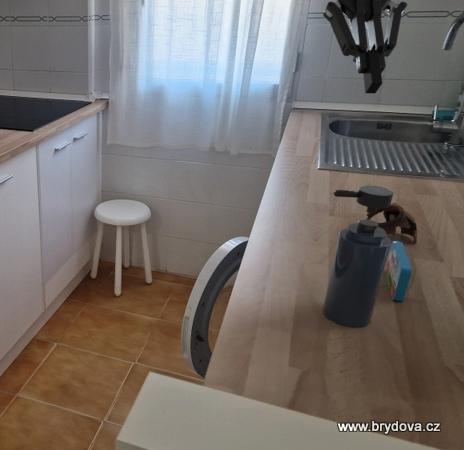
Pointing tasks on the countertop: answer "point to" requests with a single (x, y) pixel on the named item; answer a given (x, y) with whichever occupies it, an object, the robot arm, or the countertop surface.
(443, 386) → the countertop surface
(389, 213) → the brown arched figure
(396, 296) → the flat blue box
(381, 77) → the robot arm
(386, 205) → the pump head
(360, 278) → the dispenser
